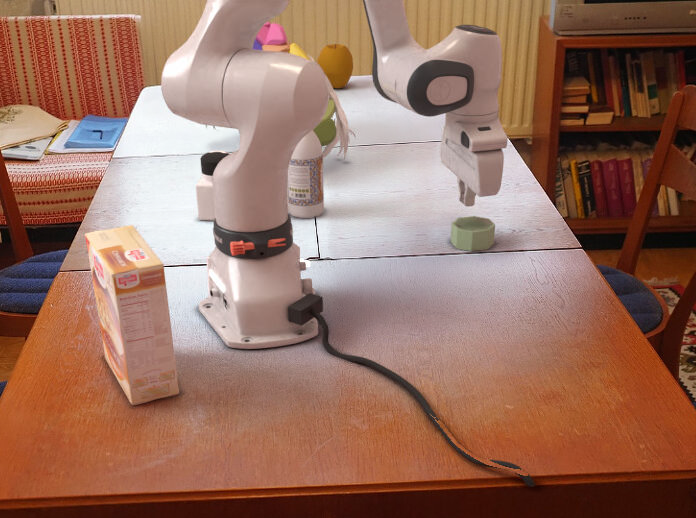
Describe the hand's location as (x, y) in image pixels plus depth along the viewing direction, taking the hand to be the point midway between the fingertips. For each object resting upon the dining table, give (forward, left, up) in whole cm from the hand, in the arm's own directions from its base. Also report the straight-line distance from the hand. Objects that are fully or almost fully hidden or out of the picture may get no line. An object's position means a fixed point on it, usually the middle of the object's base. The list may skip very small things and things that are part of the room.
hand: (466, 203), depth 172 cm
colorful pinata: (+56, +23, -6) cm, 61 cm away
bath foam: (+20, +25, -6) cm, 32 cm away
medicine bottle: (+24, +41, -6) cm, 48 cm away
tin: (-4, 0, -4) cm, 6 cm away
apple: (+108, -3, -6) cm, 108 cm away
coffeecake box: (-34, +61, -6) cm, 70 cm away
